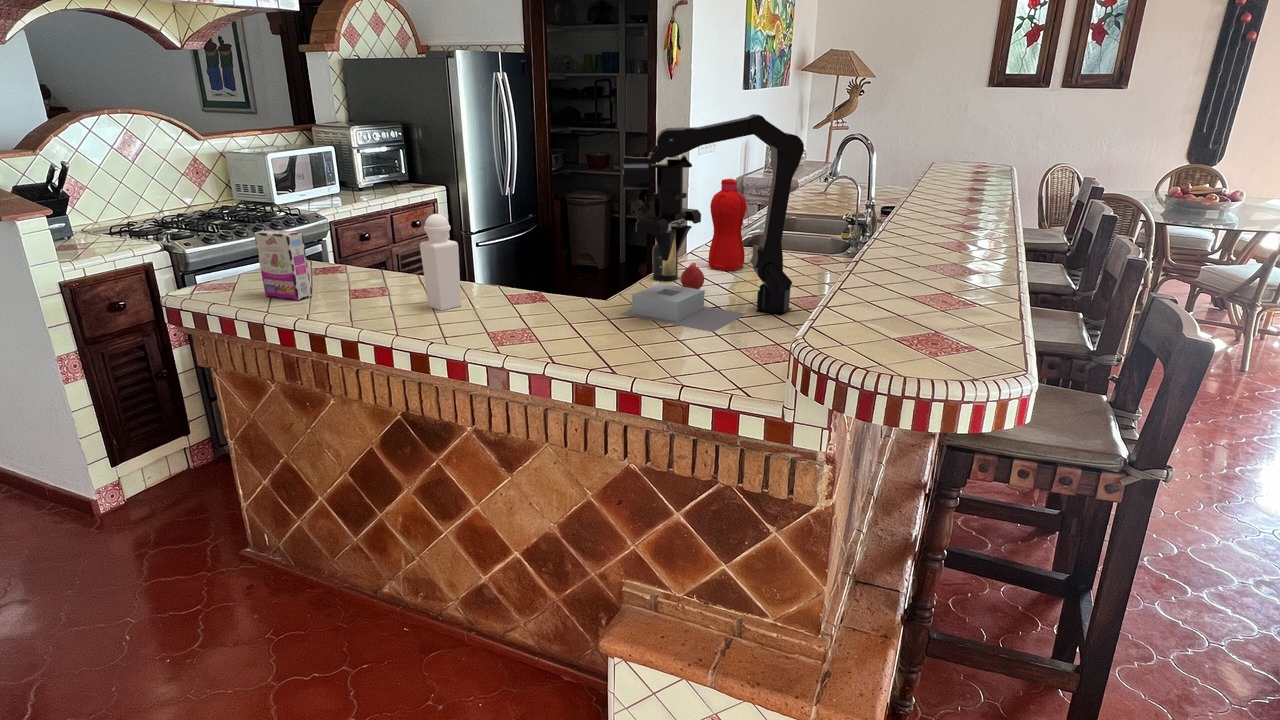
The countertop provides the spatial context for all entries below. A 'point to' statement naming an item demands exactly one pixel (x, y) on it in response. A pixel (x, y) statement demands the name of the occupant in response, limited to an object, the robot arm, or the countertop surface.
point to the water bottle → (727, 227)
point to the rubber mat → (699, 319)
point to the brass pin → (670, 260)
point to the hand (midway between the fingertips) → (669, 259)
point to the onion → (692, 277)
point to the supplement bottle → (661, 266)
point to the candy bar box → (283, 264)
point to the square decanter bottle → (440, 264)
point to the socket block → (668, 302)
